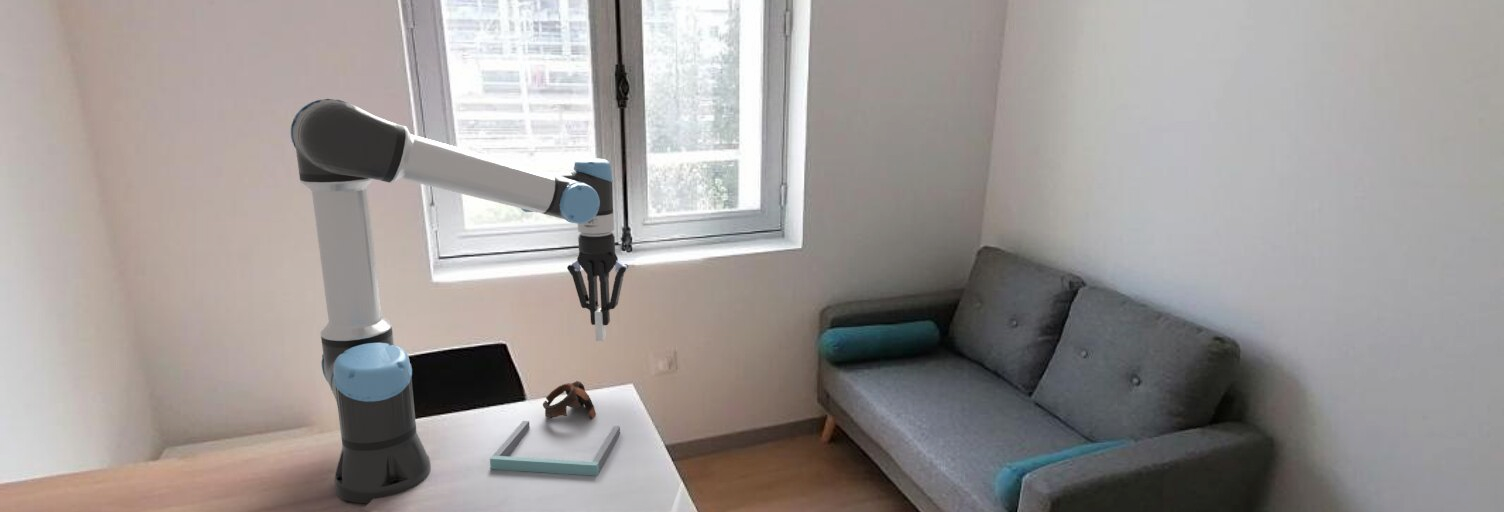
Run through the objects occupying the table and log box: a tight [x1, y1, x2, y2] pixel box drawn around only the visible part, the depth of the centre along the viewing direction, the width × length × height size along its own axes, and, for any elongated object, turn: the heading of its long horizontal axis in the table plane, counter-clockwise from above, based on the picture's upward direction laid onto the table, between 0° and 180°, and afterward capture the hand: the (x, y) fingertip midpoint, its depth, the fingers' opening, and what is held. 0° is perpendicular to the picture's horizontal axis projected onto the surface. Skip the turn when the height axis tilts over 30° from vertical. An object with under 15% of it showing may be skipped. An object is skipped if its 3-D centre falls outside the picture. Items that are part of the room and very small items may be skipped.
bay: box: [489, 420, 621, 477], centre depth 146 cm, size 19×16×2 cm
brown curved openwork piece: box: [542, 380, 597, 420], centre depth 160 cm, size 12×9×8 cm
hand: (601, 338), depth 170 cm, fingers closed
